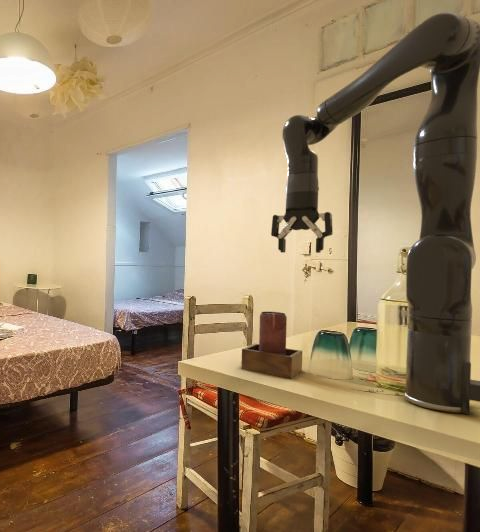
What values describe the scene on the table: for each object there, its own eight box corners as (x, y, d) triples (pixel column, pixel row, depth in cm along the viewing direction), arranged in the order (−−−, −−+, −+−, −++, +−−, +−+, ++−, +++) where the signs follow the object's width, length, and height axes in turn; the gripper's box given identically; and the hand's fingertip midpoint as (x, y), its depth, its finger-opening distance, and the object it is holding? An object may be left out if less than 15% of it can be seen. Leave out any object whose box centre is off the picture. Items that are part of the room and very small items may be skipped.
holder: (301, 370, 100) (302, 350, 100) (291, 378, 93) (291, 357, 93) (254, 362, 108) (255, 343, 108) (241, 368, 101) (241, 348, 100)
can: (261, 369, 98) (263, 313, 97) (256, 363, 104) (257, 310, 104) (288, 372, 96) (290, 314, 96) (281, 365, 102) (283, 311, 102)
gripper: (269, 192, 108) (267, 252, 108) (329, 187, 98) (327, 252, 98) (277, 196, 113) (276, 252, 114) (335, 191, 104) (333, 253, 104)
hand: (300, 252), depth 106 cm, fingers open, 8 cm apart
